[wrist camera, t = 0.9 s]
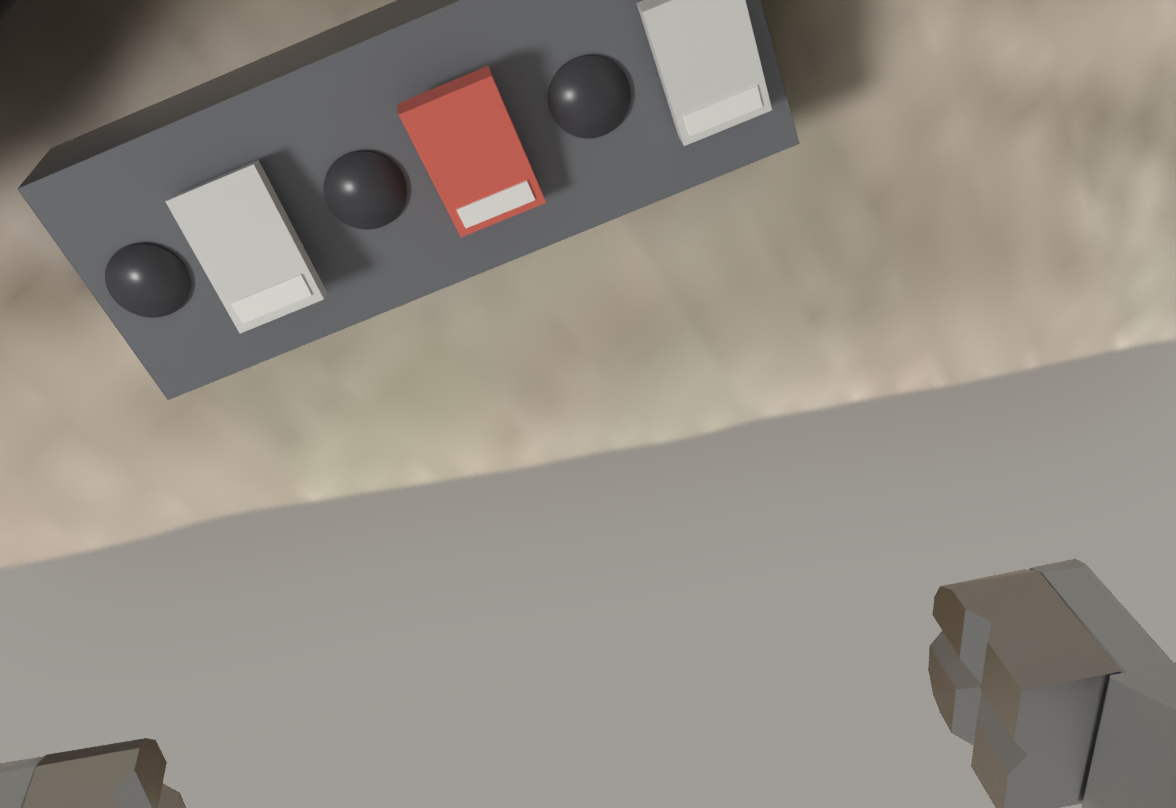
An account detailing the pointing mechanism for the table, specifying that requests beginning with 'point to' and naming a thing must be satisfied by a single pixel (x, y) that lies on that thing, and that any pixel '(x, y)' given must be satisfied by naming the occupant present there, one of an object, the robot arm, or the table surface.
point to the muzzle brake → (5, 6)
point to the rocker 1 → (247, 246)
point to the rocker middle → (472, 151)
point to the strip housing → (376, 167)
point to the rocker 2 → (706, 63)
